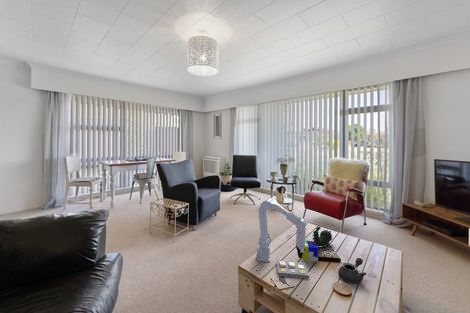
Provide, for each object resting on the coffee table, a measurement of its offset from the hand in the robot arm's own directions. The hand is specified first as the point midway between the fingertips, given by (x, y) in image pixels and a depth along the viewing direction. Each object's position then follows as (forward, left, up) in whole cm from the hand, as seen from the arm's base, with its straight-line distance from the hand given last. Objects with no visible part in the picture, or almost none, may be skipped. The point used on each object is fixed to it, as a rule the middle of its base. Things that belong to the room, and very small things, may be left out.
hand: (299, 257), depth 137 cm
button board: (-5, -2, -8) cm, 10 cm away
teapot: (+33, -2, -9) cm, 34 cm away
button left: (-11, 0, -6) cm, 13 cm away
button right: (+1, 0, -8) cm, 8 cm away
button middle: (-5, 0, -7) cm, 8 cm away
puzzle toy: (+10, +17, -9) cm, 22 cm away
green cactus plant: (+24, +38, -9) cm, 46 cm away
